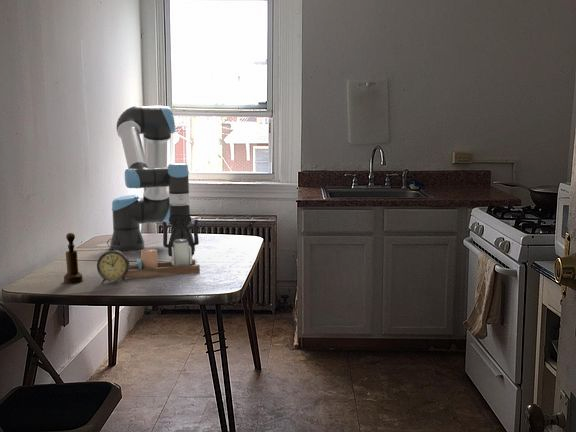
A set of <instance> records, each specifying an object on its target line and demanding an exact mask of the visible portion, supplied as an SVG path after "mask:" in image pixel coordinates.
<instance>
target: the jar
mask: <svg viewBox="0 0 576 432" xmlns="http://www.w3.org/2000/svg"><path fill="white" fill-rule="evenodd" d="M173 248H174V264H175V265H174V266H186V265H190V261H189V241H187V239H176V240H174V242H173Z"/></svg>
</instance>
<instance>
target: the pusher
mask: <svg viewBox="0 0 576 432" xmlns="http://www.w3.org/2000/svg"><path fill="white" fill-rule="evenodd" d="M136 264H137V265H134V266H129V268H137V269H142V261H141V257H140V258H138V257H137V258H136Z"/></svg>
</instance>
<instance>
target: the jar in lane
mask: <svg viewBox="0 0 576 432" xmlns="http://www.w3.org/2000/svg"><path fill="white" fill-rule="evenodd" d="M140 250H141V251H140V255H141V256H140V260H141V262H142V269H149V268H158V262H159V260H158V249H156V248H147V249H146V248H145V249H140Z"/></svg>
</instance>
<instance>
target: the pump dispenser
mask: <svg viewBox="0 0 576 432" xmlns="http://www.w3.org/2000/svg"><path fill="white" fill-rule="evenodd" d="M188 229H189V232H190V235H191V238H192V240H193V242H194V235H193V233H192V231H191V230H192V229H193V224H192V225H190V226H189V225H188ZM176 239H187V241H189V240H188V238H187V235H186V232H185V230H184V229H182V228H180V229H177V231H176V234H175V238H174V240H176ZM173 242H174V241H173ZM189 246H190V243H189ZM172 247H173V245H172ZM194 252H196V245H195V246H194ZM192 257H194V255H192Z"/></svg>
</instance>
